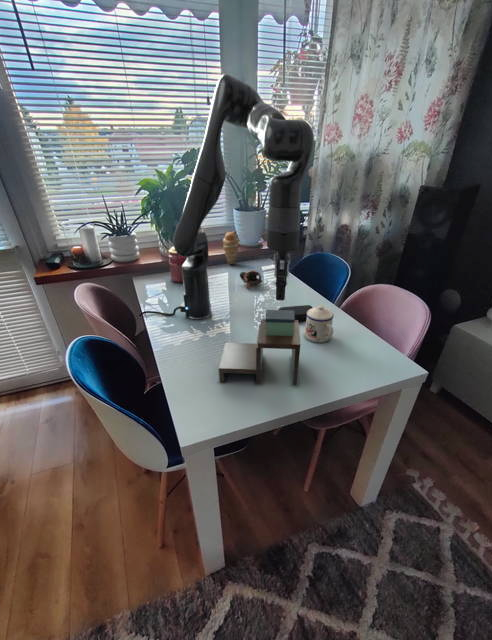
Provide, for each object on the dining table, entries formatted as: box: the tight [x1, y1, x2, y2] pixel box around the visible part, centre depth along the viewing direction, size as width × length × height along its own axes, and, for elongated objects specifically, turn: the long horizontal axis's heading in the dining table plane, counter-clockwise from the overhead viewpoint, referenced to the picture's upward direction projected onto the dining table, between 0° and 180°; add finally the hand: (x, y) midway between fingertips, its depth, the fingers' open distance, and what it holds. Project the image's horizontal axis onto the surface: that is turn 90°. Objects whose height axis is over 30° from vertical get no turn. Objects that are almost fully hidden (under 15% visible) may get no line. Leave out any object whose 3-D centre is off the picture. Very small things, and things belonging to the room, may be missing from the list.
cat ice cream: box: [222, 229, 240, 265], centre depth 178 cm, size 9×8×18 cm
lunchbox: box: [264, 309, 295, 336], centre depth 89 cm, size 8×6×5 cm
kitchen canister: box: [167, 245, 187, 283], centre depth 159 cm, size 13×13×18 cm
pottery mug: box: [239, 270, 263, 290], centre depth 154 cm, size 12×10×8 cm
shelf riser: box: [218, 318, 301, 386], centre depth 94 cm, size 22×14×14 cm, turn 86°
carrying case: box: [277, 304, 314, 322], centre depth 126 cm, size 11×3×15 cm
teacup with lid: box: [304, 304, 335, 343], centre depth 110 cm, size 12×9×12 cm
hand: (280, 293), depth 84 cm, fingers open, 8 cm apart
